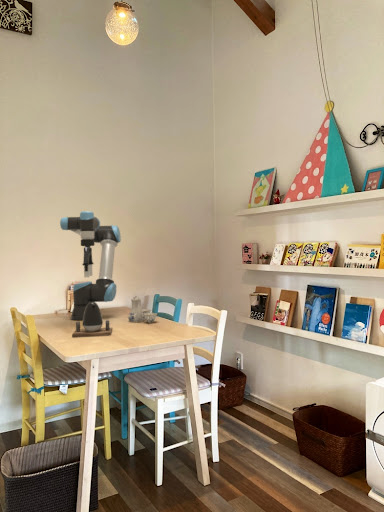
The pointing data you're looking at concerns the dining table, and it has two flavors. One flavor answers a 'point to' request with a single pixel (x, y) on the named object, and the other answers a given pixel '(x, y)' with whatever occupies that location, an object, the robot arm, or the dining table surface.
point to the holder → (84, 333)
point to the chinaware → (140, 312)
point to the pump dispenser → (92, 317)
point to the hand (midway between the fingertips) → (88, 276)
